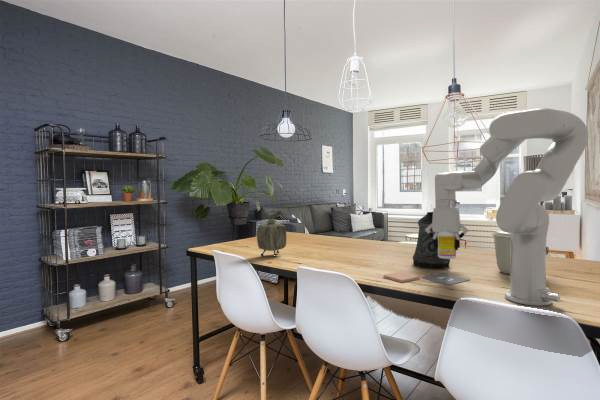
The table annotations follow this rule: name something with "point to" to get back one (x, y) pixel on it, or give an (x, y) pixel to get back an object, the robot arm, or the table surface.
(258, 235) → the tabletop clock
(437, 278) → the tile
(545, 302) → the robot arm
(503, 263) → the canister
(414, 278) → the coaster pad
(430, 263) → the beer stein
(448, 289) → the table surface
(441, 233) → the supplement bottle
